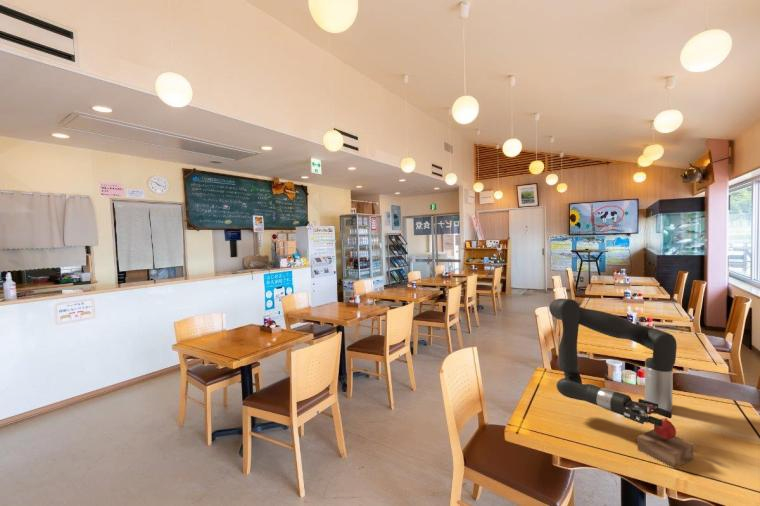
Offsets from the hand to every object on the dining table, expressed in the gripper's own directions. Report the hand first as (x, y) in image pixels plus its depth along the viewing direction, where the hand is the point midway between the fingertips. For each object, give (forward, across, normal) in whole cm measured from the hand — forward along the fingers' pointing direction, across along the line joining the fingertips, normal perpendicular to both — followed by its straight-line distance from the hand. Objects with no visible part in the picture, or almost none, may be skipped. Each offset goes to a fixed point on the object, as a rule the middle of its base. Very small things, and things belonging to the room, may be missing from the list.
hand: (667, 419), depth 119 cm
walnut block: (0, 0, +12) cm, 13 cm away
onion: (-1, 0, +8) cm, 8 cm away
